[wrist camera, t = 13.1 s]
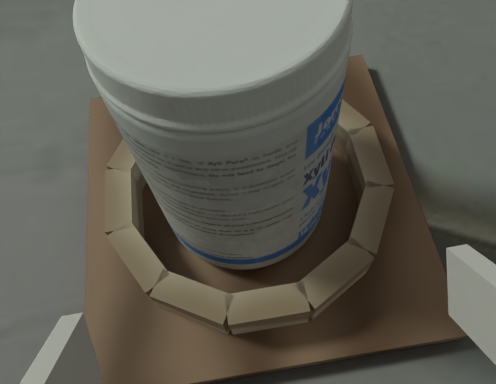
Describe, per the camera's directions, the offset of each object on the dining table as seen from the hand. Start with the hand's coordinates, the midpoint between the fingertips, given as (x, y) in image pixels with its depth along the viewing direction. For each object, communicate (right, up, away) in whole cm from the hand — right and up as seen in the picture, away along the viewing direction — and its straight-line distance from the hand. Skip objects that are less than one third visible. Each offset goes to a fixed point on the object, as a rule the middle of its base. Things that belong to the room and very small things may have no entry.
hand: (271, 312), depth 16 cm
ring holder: (-1, +3, +12) cm, 13 cm away
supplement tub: (-1, +4, +12) cm, 12 cm away
